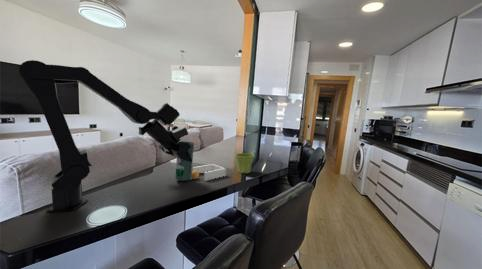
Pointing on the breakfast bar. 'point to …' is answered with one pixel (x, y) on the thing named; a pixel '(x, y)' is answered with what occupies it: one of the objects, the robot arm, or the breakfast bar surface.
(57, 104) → the robot arm
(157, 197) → the breakfast bar surface
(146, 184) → the breakfast bar surface
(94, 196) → the breakfast bar surface
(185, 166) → the can
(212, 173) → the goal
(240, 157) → the plant pot
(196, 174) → the ball
